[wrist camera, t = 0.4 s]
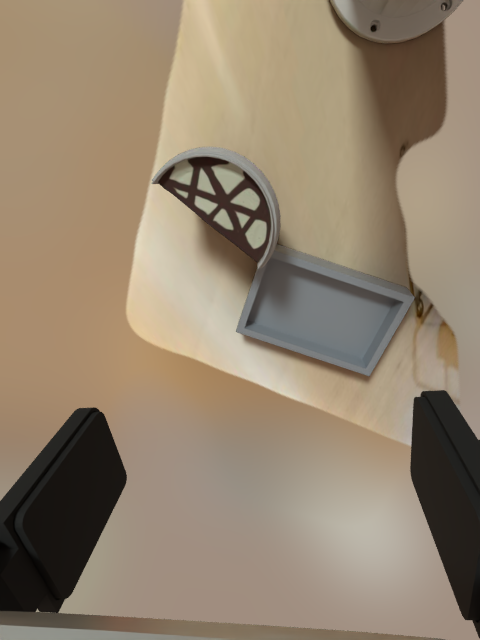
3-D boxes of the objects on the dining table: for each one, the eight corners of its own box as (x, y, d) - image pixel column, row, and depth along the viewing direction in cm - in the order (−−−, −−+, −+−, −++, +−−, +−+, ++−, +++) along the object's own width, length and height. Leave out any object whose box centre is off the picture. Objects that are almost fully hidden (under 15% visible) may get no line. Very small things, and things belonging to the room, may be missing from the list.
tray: (266, 240, 40) (264, 247, 38) (406, 287, 41) (414, 297, 38) (239, 320, 45) (235, 331, 42) (364, 362, 45) (369, 376, 43)
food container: (306, 199, 38) (311, 216, 29) (269, 244, 41) (263, 272, 32) (213, 118, 36) (187, 109, 27) (179, 171, 38) (146, 179, 30)
